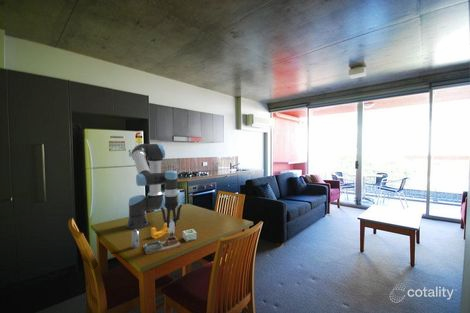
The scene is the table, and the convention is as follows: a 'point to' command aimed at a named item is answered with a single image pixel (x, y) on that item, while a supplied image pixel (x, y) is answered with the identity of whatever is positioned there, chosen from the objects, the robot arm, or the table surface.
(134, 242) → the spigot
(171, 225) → the pin
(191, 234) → the tray
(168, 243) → the mount
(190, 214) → the table surface
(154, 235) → the pipe clamp
